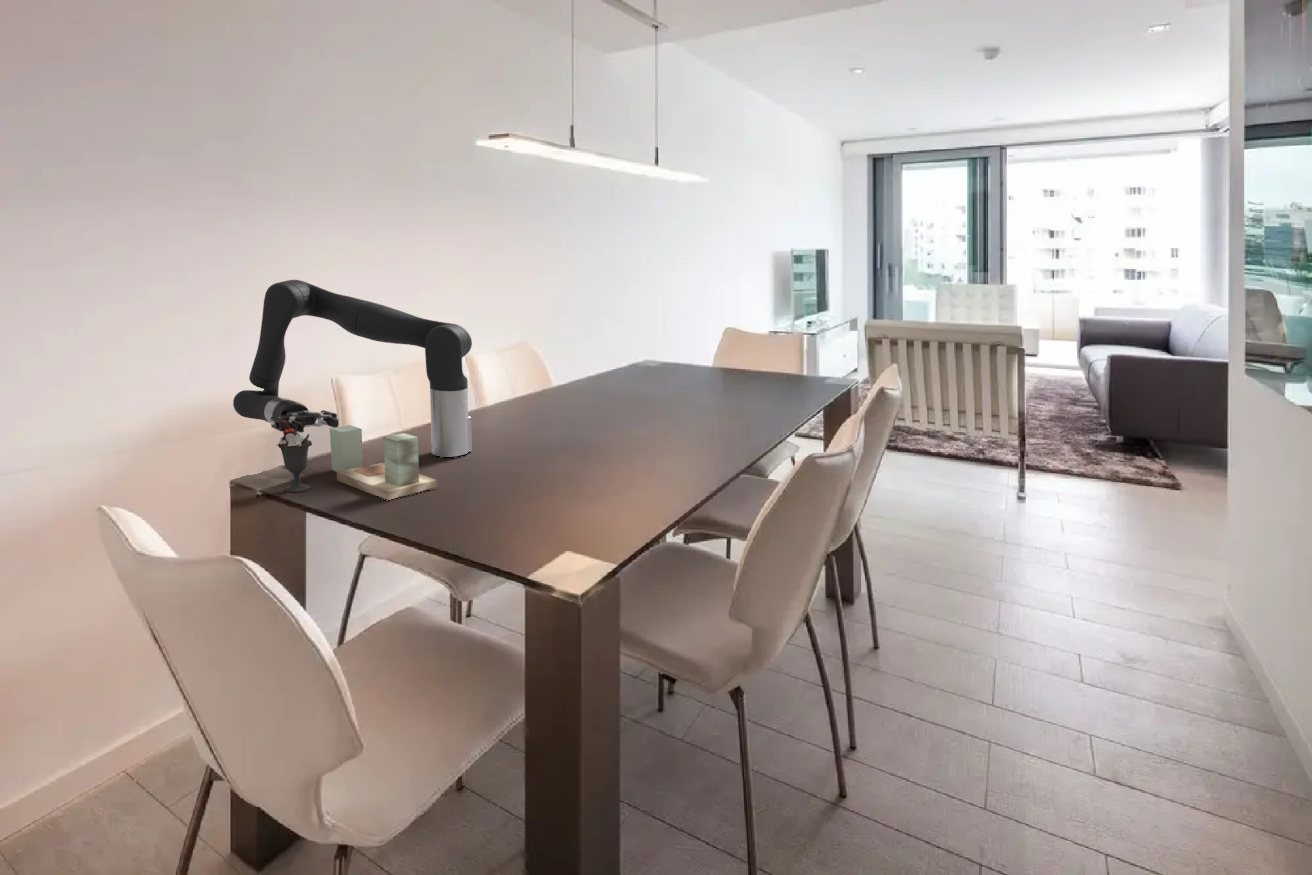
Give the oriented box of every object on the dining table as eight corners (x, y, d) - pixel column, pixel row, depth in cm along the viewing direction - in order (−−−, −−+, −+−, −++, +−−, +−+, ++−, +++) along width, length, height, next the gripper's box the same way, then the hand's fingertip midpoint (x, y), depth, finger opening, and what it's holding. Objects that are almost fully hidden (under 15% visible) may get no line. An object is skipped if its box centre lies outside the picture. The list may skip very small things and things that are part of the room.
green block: (352, 465, 175) (349, 425, 173) (363, 470, 172) (361, 428, 170) (332, 469, 172) (329, 428, 169) (343, 474, 169) (341, 432, 166)
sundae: (274, 488, 156) (268, 420, 153) (305, 482, 161) (300, 416, 158) (289, 495, 152) (283, 425, 149) (320, 489, 157) (316, 421, 154)
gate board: (385, 470, 173) (383, 420, 170) (437, 488, 161) (435, 435, 159) (337, 480, 164) (334, 428, 161) (388, 500, 152) (386, 444, 149)
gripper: (256, 402, 180) (289, 414, 170) (313, 396, 191) (346, 407, 181) (258, 432, 181) (291, 445, 172) (314, 424, 192) (348, 436, 183)
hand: (319, 425), depth 177 cm, fingers open, 8 cm apart
